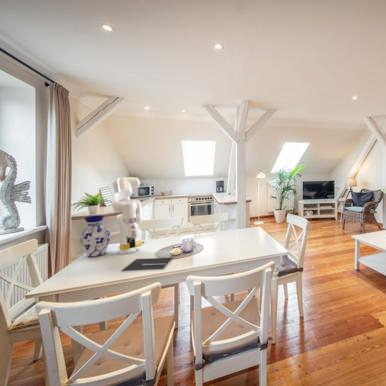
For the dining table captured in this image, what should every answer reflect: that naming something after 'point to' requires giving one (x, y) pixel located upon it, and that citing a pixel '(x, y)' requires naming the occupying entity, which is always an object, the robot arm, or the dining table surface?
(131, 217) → the robot arm
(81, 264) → the dining table surface
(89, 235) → the vase
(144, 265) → the fork
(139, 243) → the banana
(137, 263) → the place mat
